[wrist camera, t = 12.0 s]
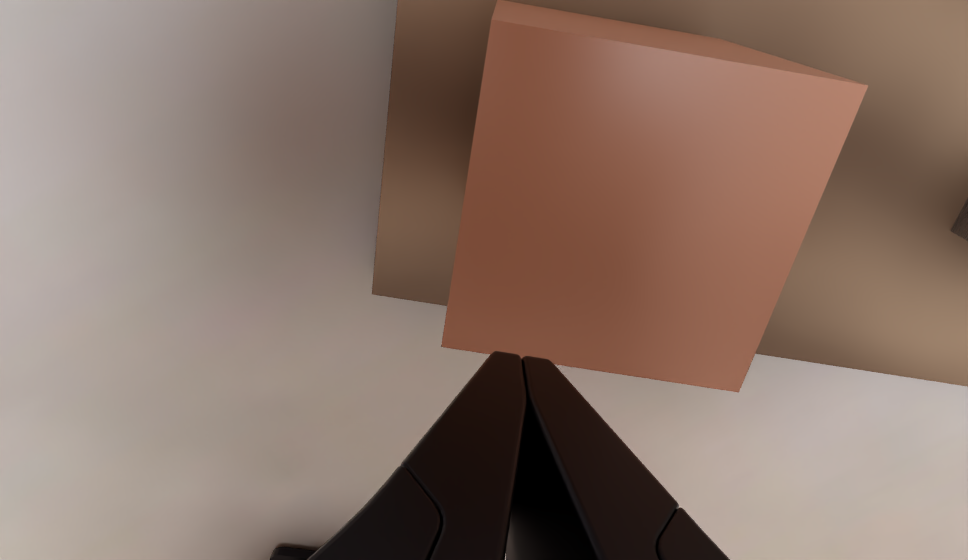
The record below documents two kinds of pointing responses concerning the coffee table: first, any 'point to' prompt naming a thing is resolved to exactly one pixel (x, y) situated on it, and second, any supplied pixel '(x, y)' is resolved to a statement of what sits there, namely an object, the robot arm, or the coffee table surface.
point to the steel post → (962, 223)
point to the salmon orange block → (636, 195)
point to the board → (841, 210)
